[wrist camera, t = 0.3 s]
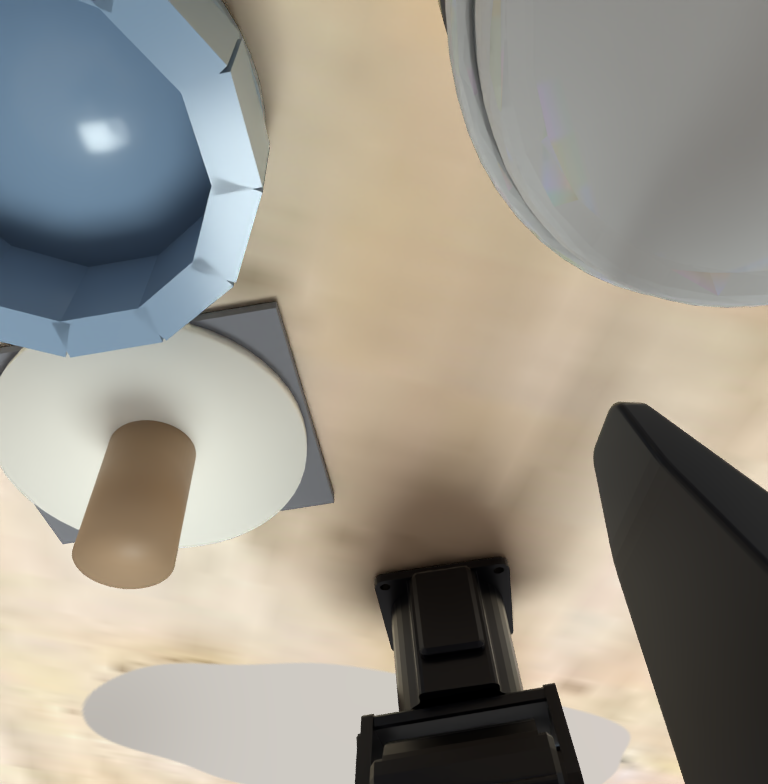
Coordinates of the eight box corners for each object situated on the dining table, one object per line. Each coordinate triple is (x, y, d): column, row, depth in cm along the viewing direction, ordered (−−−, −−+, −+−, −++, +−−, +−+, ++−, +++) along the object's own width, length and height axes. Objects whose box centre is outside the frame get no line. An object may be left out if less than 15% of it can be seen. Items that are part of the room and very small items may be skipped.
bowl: (302, 250, 23) (299, 319, 20) (-12, 304, 23) (-63, 379, 20) (198, -160, 16) (168, -153, 13) (-241, -72, 17) (-371, -45, 13)
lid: (333, 515, 31) (334, 630, 26) (75, 554, 31) (35, 674, 27) (263, 288, 23) (250, 396, 19) (-73, 345, 24) (-162, 463, 19)
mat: (334, 495, 30) (334, 502, 30) (65, 537, 31) (62, 544, 31) (276, 301, 24) (275, 307, 24) (-61, 357, 24) (-66, 364, 24)
